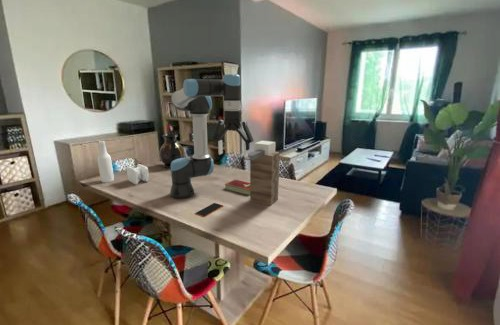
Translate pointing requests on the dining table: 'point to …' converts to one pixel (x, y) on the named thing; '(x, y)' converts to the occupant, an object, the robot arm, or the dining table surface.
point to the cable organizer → (137, 174)
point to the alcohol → (105, 164)
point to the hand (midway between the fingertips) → (233, 155)
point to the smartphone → (209, 209)
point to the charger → (261, 149)
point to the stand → (264, 179)
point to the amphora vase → (170, 150)
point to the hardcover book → (238, 186)
